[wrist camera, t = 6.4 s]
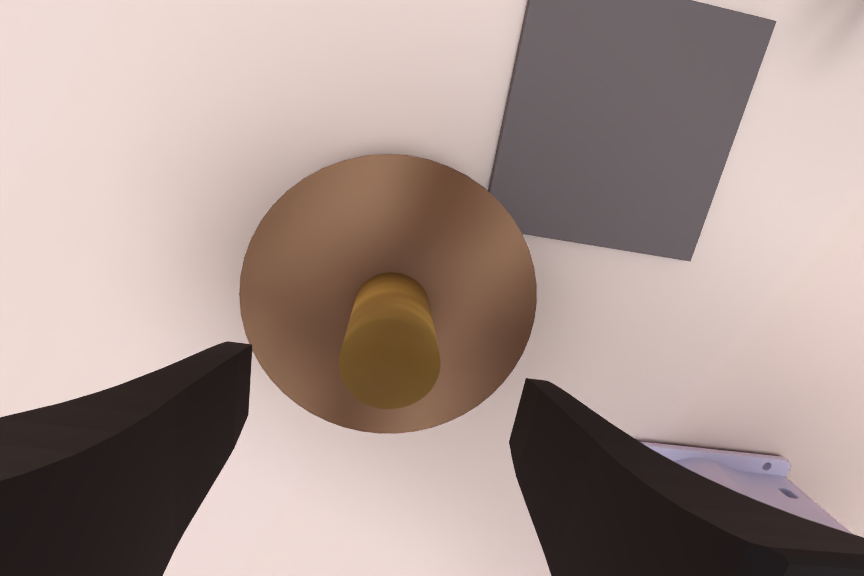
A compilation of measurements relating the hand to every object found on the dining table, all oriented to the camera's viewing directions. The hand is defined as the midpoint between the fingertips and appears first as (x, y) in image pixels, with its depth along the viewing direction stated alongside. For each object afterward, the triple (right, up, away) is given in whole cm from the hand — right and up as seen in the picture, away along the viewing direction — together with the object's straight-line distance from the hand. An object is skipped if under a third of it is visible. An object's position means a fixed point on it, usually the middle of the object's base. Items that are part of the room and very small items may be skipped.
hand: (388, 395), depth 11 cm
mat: (+9, +10, +7) cm, 15 cm away
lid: (0, +2, +6) cm, 6 cm away
